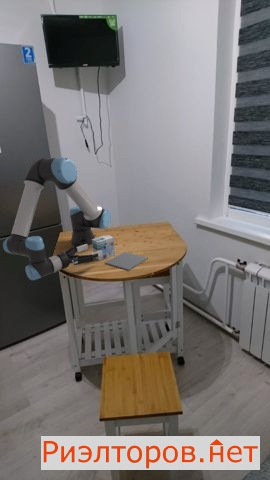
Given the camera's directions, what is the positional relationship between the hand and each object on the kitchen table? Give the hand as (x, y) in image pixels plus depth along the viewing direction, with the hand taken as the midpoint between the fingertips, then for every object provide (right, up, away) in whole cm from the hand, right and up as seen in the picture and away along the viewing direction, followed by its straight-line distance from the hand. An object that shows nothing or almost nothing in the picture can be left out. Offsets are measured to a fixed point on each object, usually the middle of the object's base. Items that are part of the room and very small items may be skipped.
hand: (94, 249), depth 151 cm
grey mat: (+17, -6, -2) cm, 18 cm away
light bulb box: (+5, -4, +6) cm, 9 cm away
